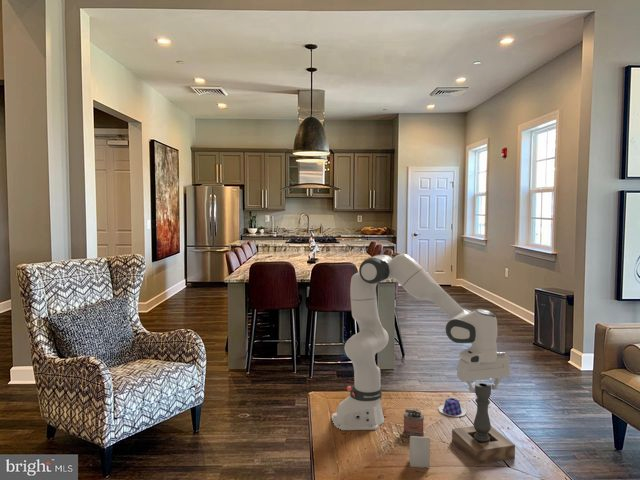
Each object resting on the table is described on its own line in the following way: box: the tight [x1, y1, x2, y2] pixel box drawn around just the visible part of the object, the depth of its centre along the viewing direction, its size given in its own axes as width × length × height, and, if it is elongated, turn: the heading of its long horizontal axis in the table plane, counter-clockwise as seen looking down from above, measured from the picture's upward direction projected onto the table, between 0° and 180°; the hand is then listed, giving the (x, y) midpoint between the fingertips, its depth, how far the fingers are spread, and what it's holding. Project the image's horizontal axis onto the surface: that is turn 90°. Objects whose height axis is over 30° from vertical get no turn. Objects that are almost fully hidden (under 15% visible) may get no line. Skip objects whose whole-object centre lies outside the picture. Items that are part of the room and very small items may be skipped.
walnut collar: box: [451, 425, 516, 465], centre depth 166 cm, size 16×16×5 cm
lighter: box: [402, 408, 425, 437], centre depth 178 cm, size 8×3×10 cm, turn 71°
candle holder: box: [473, 381, 492, 444], centre depth 165 cm, size 6×6×25 cm
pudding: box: [438, 397, 467, 418], centre depth 197 cm, size 12×12×5 cm
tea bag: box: [409, 435, 431, 469], centre depth 157 cm, size 4×7×10 cm, turn 81°
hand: (483, 390), depth 165 cm, fingers open, 8 cm apart
